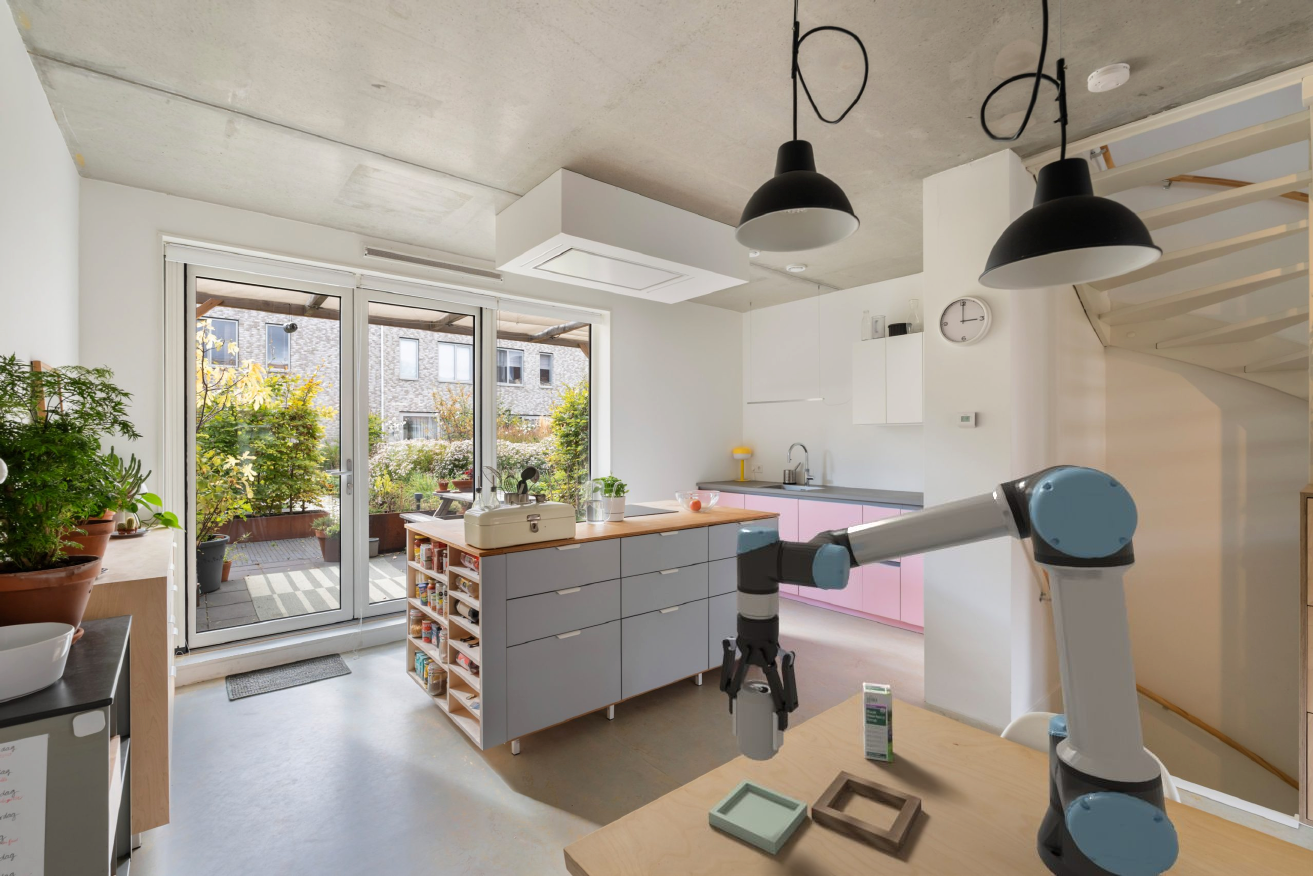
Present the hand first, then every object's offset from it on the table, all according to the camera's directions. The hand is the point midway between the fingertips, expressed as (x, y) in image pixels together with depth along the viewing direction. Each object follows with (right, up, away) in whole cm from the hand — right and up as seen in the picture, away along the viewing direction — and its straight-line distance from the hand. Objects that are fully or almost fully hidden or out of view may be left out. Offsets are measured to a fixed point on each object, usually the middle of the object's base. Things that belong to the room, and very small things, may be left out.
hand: (757, 739), depth 105 cm
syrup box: (+30, -15, +22) cm, 40 cm away
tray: (0, -14, 0) cm, 14 cm away
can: (0, -3, 0) cm, 3 cm away
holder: (+20, -14, +1) cm, 25 cm away
